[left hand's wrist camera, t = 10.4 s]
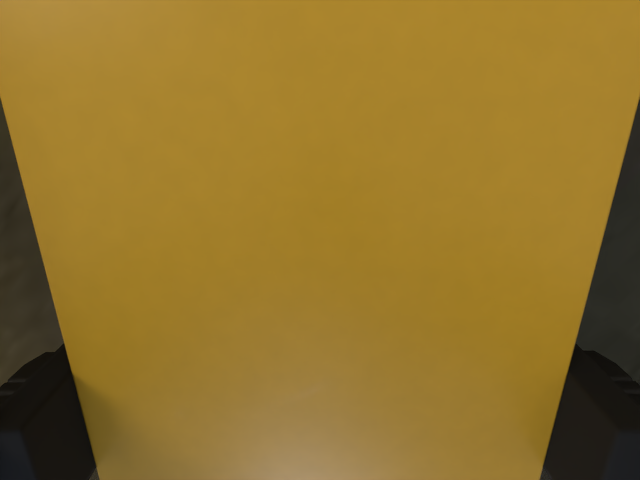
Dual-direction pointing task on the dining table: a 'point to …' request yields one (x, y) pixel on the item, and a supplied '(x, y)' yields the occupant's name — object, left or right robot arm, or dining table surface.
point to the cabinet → (319, 223)
